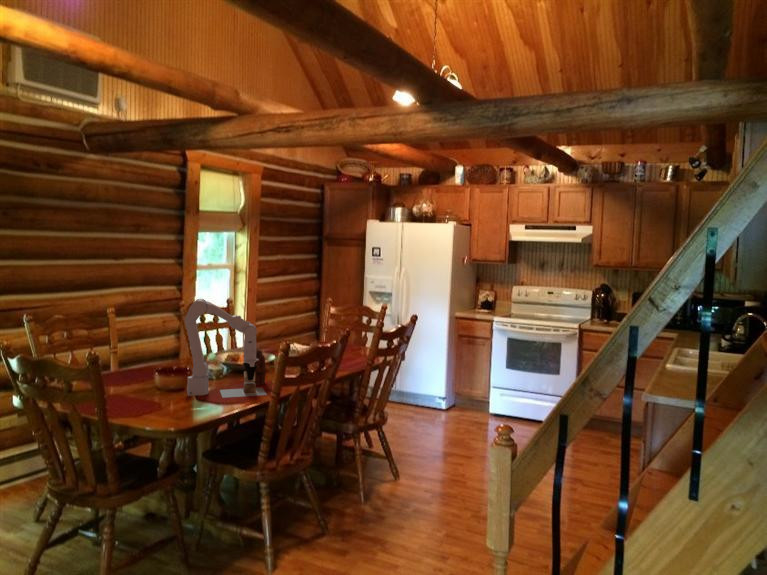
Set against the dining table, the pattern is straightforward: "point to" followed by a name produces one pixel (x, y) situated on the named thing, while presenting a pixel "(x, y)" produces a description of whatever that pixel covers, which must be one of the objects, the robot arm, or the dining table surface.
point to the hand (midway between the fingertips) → (249, 378)
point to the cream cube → (247, 377)
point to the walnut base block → (249, 387)
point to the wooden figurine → (260, 368)
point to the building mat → (241, 393)
